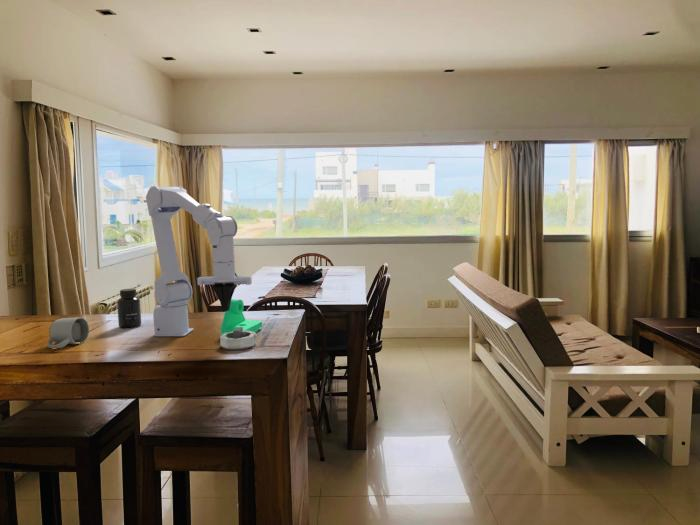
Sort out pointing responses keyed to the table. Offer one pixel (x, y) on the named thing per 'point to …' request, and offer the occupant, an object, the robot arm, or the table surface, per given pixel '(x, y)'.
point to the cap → (238, 332)
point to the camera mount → (238, 319)
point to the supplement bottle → (129, 309)
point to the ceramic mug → (68, 332)
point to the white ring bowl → (238, 341)
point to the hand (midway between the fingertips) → (226, 310)
